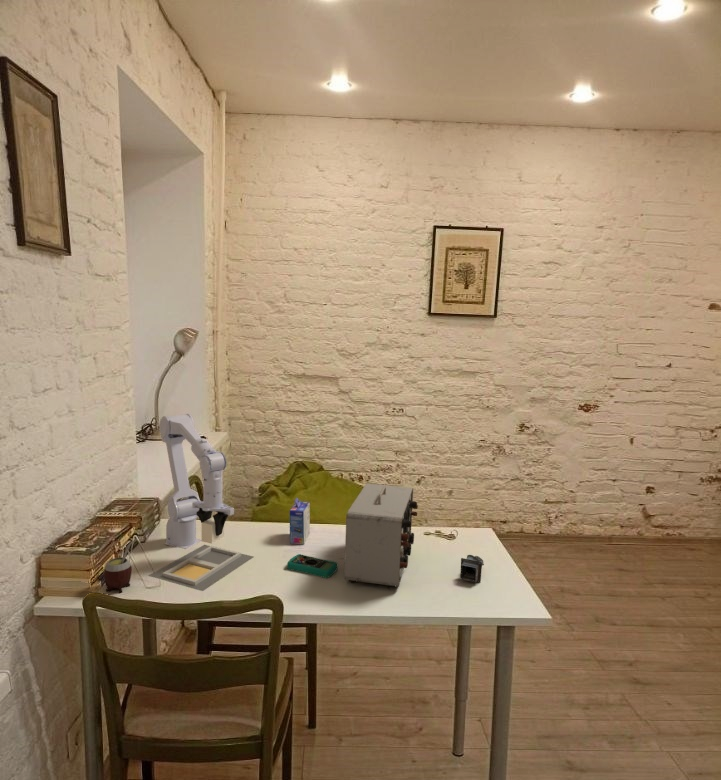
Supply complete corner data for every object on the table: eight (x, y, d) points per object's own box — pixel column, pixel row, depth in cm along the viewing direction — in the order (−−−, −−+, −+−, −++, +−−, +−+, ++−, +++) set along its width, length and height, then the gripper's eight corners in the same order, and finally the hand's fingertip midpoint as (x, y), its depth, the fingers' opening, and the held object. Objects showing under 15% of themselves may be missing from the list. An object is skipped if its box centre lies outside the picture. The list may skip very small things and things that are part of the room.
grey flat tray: (148, 577, 157) (148, 572, 157) (204, 546, 180) (204, 541, 180) (202, 592, 149) (202, 587, 149) (254, 558, 172) (254, 553, 172)
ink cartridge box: (295, 532, 194) (295, 494, 192) (309, 534, 193) (310, 495, 192) (288, 543, 184) (289, 503, 182) (304, 545, 184) (305, 504, 182)
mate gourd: (101, 586, 150) (100, 535, 149) (131, 579, 155) (130, 530, 153) (108, 597, 145) (106, 545, 143) (138, 589, 149) (137, 538, 148)
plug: (201, 541, 165) (201, 522, 165) (215, 533, 172) (215, 516, 171) (212, 543, 164) (212, 525, 163) (225, 536, 170) (225, 518, 169)
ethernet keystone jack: (486, 568, 171) (487, 549, 170) (479, 586, 159) (480, 566, 158) (466, 564, 173) (467, 545, 173) (457, 582, 161) (459, 561, 160)
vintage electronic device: (405, 593, 153) (409, 510, 150) (343, 585, 156) (346, 503, 153) (416, 549, 184) (419, 478, 181) (364, 543, 187) (367, 474, 184)
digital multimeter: (296, 560, 172) (296, 552, 172) (338, 570, 167) (338, 561, 167) (285, 570, 166) (285, 561, 165) (328, 580, 160) (328, 570, 160)
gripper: (185, 491, 165) (185, 533, 166) (224, 498, 159) (223, 542, 161) (200, 485, 171) (200, 525, 173) (238, 492, 166) (237, 534, 167)
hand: (212, 533), depth 167 cm, fingers closed on plug, 4 cm apart
